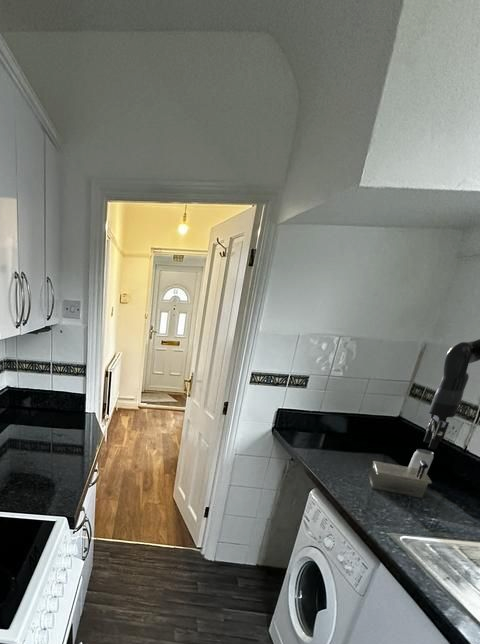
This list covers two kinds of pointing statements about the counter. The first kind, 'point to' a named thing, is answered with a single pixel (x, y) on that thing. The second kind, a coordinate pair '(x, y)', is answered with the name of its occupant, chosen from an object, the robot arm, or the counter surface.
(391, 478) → the beige storage tray
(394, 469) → the lid
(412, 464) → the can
